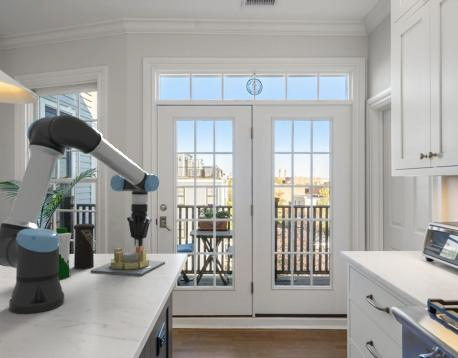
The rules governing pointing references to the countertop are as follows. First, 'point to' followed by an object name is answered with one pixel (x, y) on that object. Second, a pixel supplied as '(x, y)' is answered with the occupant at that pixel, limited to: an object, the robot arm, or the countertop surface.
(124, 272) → the slate plate
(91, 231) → the container
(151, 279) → the countertop surface
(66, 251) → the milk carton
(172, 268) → the countertop surface
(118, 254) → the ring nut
